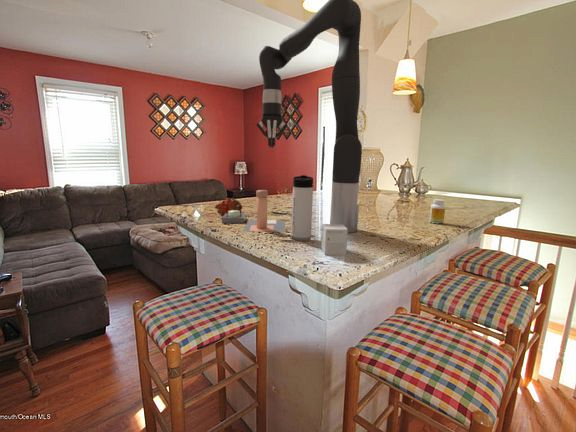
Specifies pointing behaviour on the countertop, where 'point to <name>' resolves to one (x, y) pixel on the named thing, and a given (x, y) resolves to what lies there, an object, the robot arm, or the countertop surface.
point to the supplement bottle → (437, 211)
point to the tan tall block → (261, 209)
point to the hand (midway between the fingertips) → (271, 147)
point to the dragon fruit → (228, 206)
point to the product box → (334, 239)
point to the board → (271, 226)
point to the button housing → (233, 219)
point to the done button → (233, 213)
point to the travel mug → (302, 208)
